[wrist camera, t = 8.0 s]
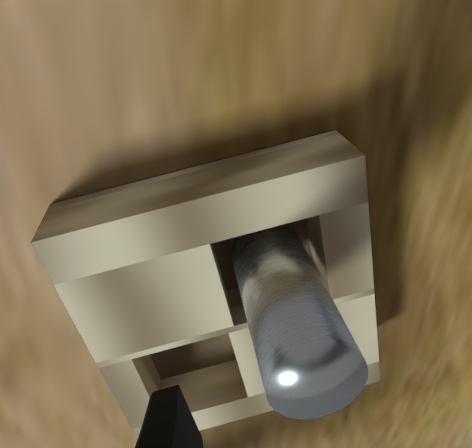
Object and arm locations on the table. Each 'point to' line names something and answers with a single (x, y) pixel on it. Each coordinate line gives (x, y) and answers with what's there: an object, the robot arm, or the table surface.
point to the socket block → (206, 270)
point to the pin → (295, 326)
